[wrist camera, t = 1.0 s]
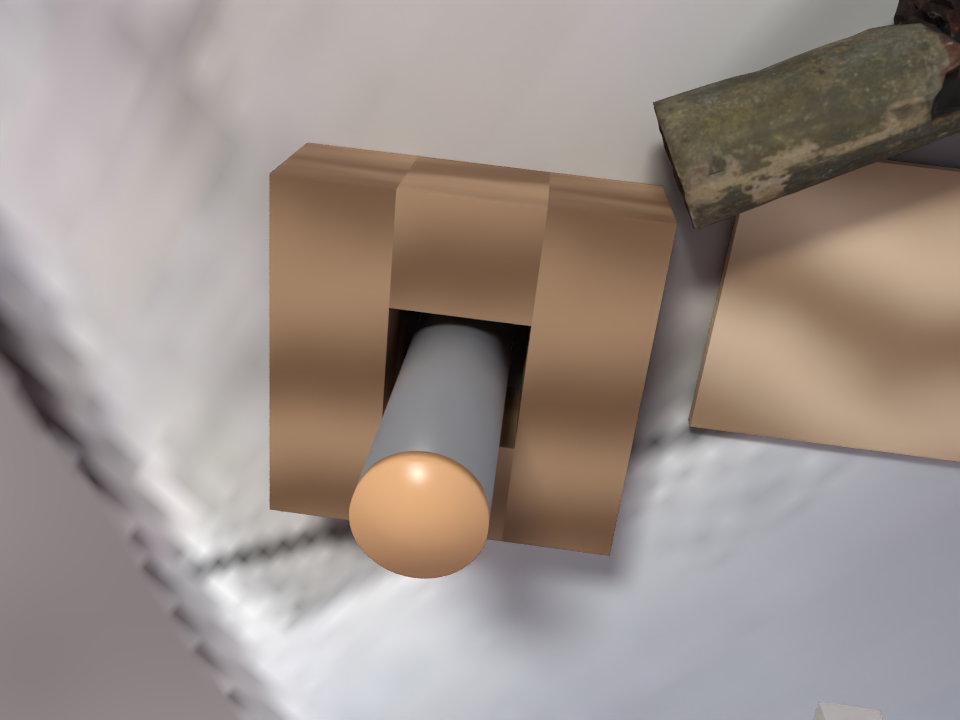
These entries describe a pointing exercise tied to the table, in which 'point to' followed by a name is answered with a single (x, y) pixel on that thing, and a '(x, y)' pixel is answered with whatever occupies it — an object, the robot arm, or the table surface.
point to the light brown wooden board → (842, 316)
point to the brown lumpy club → (816, 113)
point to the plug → (436, 450)
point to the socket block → (470, 294)
